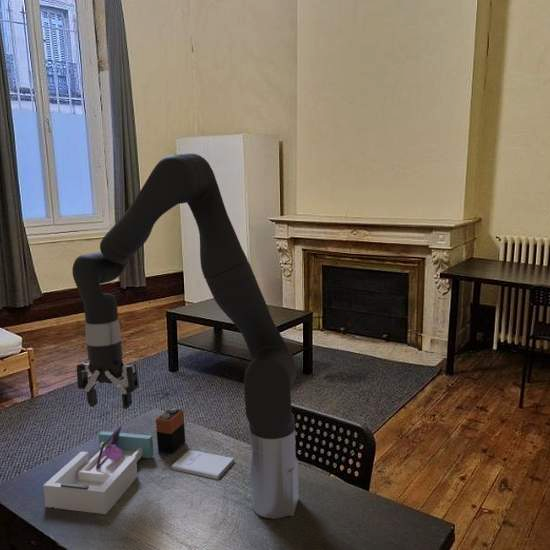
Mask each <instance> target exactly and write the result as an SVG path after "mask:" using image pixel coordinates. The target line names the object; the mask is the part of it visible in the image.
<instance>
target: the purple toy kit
mask: <svg viewBox="0 0 550 550" xmlns="http://www.w3.org/2000/svg"><path fill="white" fill-rule="evenodd" d="M121 432H122V426H118V427H117V428H116V430H114V433H113V434H112V435H111V436H110V437H109V438H108V439H107V440H106V441H105V442H102V443H101V444H99V448H100V447H101V450H100V449H99V451H100V453H99V456H98V461H97V466H96V468H97V469H98V468H99V467H100V466H101V464H102V463H103V462H104V461H105V460H106V459H107V458H109V459H111V460H116V459H118V458H120V457H122V458H125V456H123V455H122V451H121V449H122V448H120V449H119V448H118V447H117V446H116V445H117V441H118V438H119V434H120V433H121ZM112 437H113V438H112ZM111 438H112V442H111V445H109V446H108V447H107V448H105V451H104V453H105V454H104V453H103V454H104V455H106V457H105V458H104V460H103V461H102V462H101V461H100V459H101V456H102V452H103V448H104V446H105V445H106V444H107V442H109V441H110V439H111ZM100 462H101V463H100ZM99 463H100V464H99Z"/></svg>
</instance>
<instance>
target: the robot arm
mask: <svg viewBox="0 0 550 550" xmlns="http://www.w3.org/2000/svg"><path fill="white" fill-rule="evenodd" d="M179 204H180V205H181V204H187V205H188V207H189V209H190V211H191V212H192V215H193V218H194V220H195V223H196V225H197V229H198V233H199V235H198V236H199V257H200V258H199V259H200V267H201V268H200V269H201V272H202V276H203V277H204V279H205V283H206V285H207V286H208V289H209V291H210V293H211V295H212V298H213V300H214V301H215V303H216V304H217V305H218V307H219V308H220V309H221V311H222V312H223V314H225V315H226V316H227V318H228V319H230V321H231V322H232V323H233V324H234V325H235V327H236V328H237V329H238V330H239V332H240V333H241V335H242V338H243V339H244V341H245V343H246V346H247V348H248V352H249V354H250V358H251V362H250V363H249V364H248V366H247V367H246V369H245V371H244V372H245V373H244V378H243V388H244V389H243V390H244V406H245V415H246V419H247V421H248V423H249V424H248V425H249V444H250V446H249V447H250V448H249V449H250V454H249V455H250V478H251V480H250V481H251V482H250V483H251V501H252V502H251V504H252V509H253V512H255V513H256V514H257V515H258V516H260V517H263V518H266V519H275V520H276V519H281V518H285V517H294V516H295V512H296V510H297V509H296V508H297V505H298V502H299V461H298V457H296V417H295V414H294V412H292V397H291V396H292V395H291V394H292V393H291V392H292V390H291V389H292V386H293V384H294V382H295V380H296V377H297V372H298V371H297V363H296V360H295V357H294V355H293V354H292V352H291V350H290V348H289V347H288V345H287V344H286V341H285V340H284V338H283V336H282V335H281V333H280V331H279V329H278V327H277V325H276V323H275V321H274V320H273V317H272V315H271V312H270V310H269V306H268V305H267V302H266V300H265V298H264V295H263V292H262V290H261V288H260V286H259V283H258V280H257V278H256V276H255V274H254V271H253V269H252V266H251V264H250V262H249V259H248V257H247V256H246V254H245V251H244V249H243V248H242V245H241V243H240V239H239V238H238V235H237V233H236V231H235V229H234V228H235V227H234V226H233V223H232V222H231V220H230V217H229V215H228V212H227V209H226V206H225V203H224V200H223V197H222V194H221V190H220V188H219V185H218V181H217V179H216V176H215V173H214V170H213V169H212V167H211V164H210V163H209V162H208V161H207V159H205V157H203V156H202V155H199V154H197V153H183V154H182V153H181V154H172V155H168V156H167V155H166V156H165V157H163V158H162V159H160V160H159V161H158V162H157V163H156V165H155V167H154V168H153V169H152V171H151V172H150V174H149V175H148V178H147V179H146V181H145V183H144V184H143V186H142V188H141V189H140V191H139V192H138V194H137V196H136V197H135V199H134V200H133V202H132V203H131V205H130V206H128V209H127V210H126V211H125V212H124V214H123V215H122V216H121V217H120V219H119V220H118V221H117V222H116V223H115V224H114V225H113V226H112V227H111V229H109V230H108V232H107V233H106V234H105V235H104V236H103V238H102V239H101V240H100V243H99V250H100V251H97V252H91V253H86V254H85V253H84V254H81V255H79V256H78V257H76V258H75V260H74V262H73V265H72V277H73V281H74V283H75V286H76V288H77V290H78V293H79V295H80V298H81V300H82V303H83V307H84V318H85V341H86V349H87V350H86V351H87V352H86V353H87V359H88V362H87V361H85V360H84V361H82V362H80V363H79V364H77V365H76V377H77V378H76V379H77V380H76V381H77V389H80V390H81V389H82V390H84V391H85V392H86V399H87V404H88V405H89V407H91V408H93V407H95V406H96V405H98V395H97V388H95V387H97V384H104V383H107V384H110V385H111V384H113V385H114V387H116V388H118V389H119V391H120V392H121V401H122V409H124V410H127V409H129V408H130V407H131V405H132V403H133V398H132V393H133V392H134V391H136V390H137V389H138V388H139V387H140V385H139V376H138V371H137V365H136V363H133V362H132V363H131V364H126V365H125V364H124V363H123V345H122V335H121V334H122V333H121V332H122V331H121V327H120V321H119V313H118V303H117V302H118V301H117V299H116V295H114V294H113V293H109V292H103V291H102V288H101V284H105V283H106V284H107V283H110V282H112V281H115V280H116V279H118V278H119V277H120V276H121V275H122V274H123V272H124V271H125V269H126V267H127V265H128V262H129V261H130V259H131V258H132V257H133V256H134V255H135V254H136V253H137V252H138V251H139V250H140V248H142V247H143V246H144V245H145V243H146V242H147V241H148V239H149V237H150V235H151V233H152V230H153V228H154V226H155V224H156V223H157V221H158V220H159V219H160V218H161V217H162V216H163V215H164V214H166V213H167V212H168V211H170V210H171V209H173V208H174V207H176V206H177V205H179ZM88 372H90V373H91V375H92V376H91V377H90V379H89V375H88V374H89V373H88ZM123 372H124V373H123ZM125 375H126V376H125Z"/></svg>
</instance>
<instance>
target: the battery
mask: <svg viewBox="0 0 550 550" xmlns="http://www.w3.org/2000/svg"><path fill="white" fill-rule="evenodd" d="M184 414H185V411H184V410H183V409H178V407H177V406H171V407H168V409H167V410H166V411H164V412H163V413H161V415H159V416H158V417H157V418H155V427H156V440H157V452H158V453H163V454H169V455H172V454H174V453H176V451H177V450H179V448H181V447H182V446H183V445H184V444H185V443H186V433H185V432H186V431H185V415H184Z"/></svg>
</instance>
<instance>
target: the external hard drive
mask: <svg viewBox="0 0 550 550" xmlns="http://www.w3.org/2000/svg"><path fill="white" fill-rule="evenodd" d="M234 461H235V458H233V457H230V456H229V457H228V456H223V455H217V454H213V453H208V452H204V451H197V450H192V449H189V450H188V451H187V452H185V453H184V454H183V455H182V456H181V457H180V458H179V459H178V460H177V461H175V462H174V463H173V464H172V465H171V469H172V470H173V471H174V470H175V471H179V472H183V473H187V474H193V475H195V476H196V475H197V476H201V477H204V478H210V479H214V480H219V479H220V478H221V477H222V476H223V475H224V474H225V473H226V472H227V470H229V468H230V467H231V466H232V465H233V464H234V463H235V462H234ZM233 462H234V463H233ZM225 471H226V472H225ZM224 472H225V473H224Z"/></svg>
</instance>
